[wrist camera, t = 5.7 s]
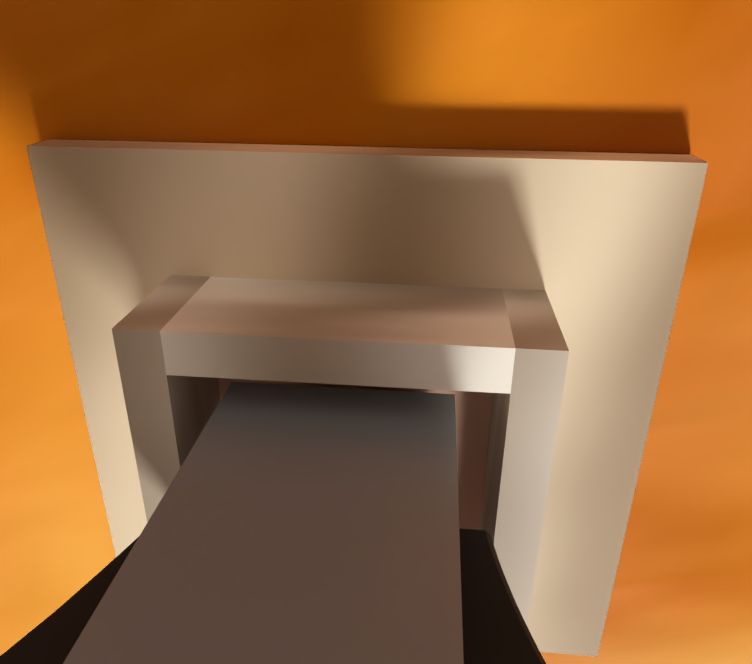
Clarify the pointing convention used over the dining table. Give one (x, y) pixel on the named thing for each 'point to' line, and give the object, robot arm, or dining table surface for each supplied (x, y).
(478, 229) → the holder box
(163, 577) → the plug
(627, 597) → the dining table surface
